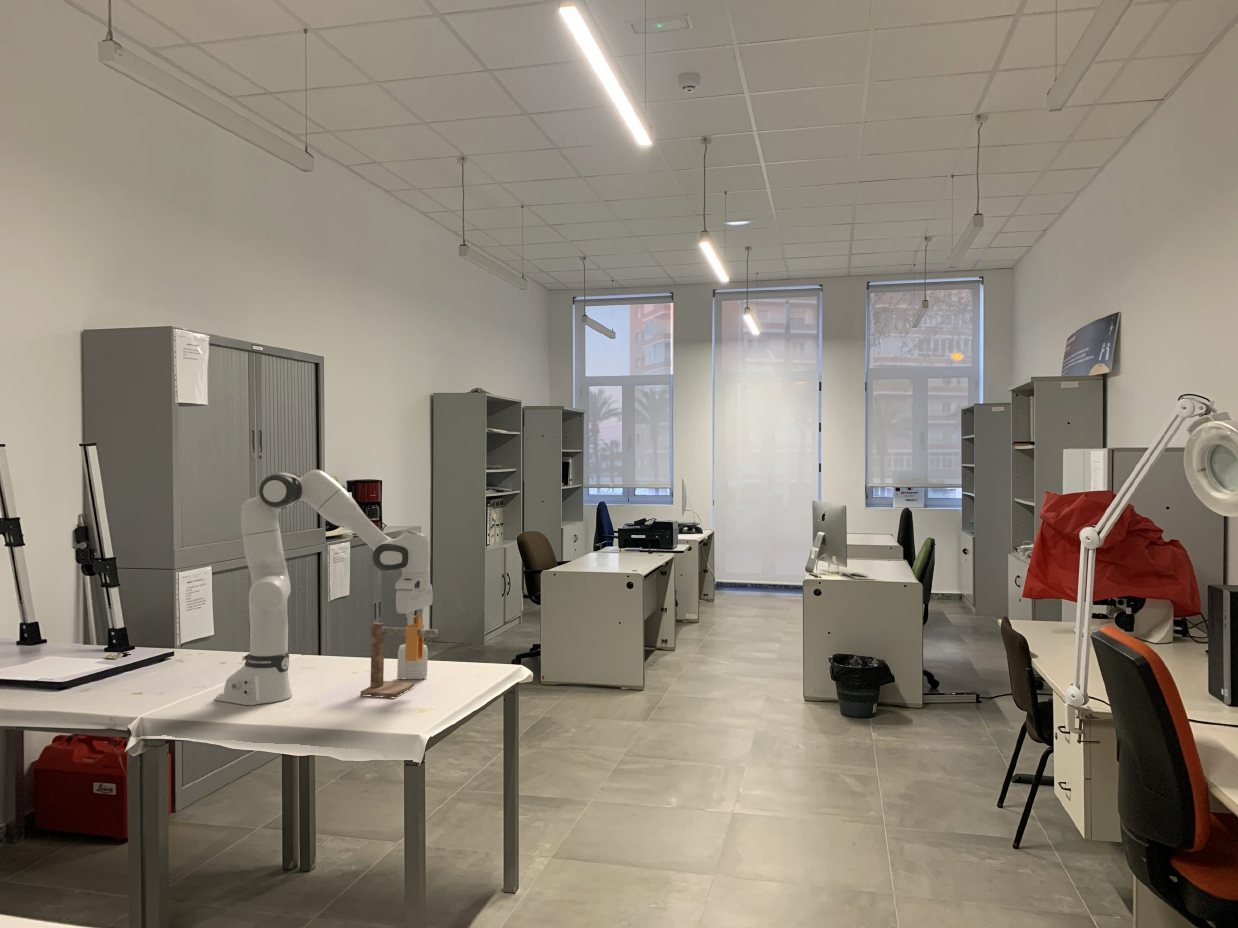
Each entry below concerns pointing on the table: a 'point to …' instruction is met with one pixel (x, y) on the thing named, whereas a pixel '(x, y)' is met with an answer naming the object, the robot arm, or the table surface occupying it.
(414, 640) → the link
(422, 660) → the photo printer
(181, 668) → the table surface
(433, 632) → the stand
